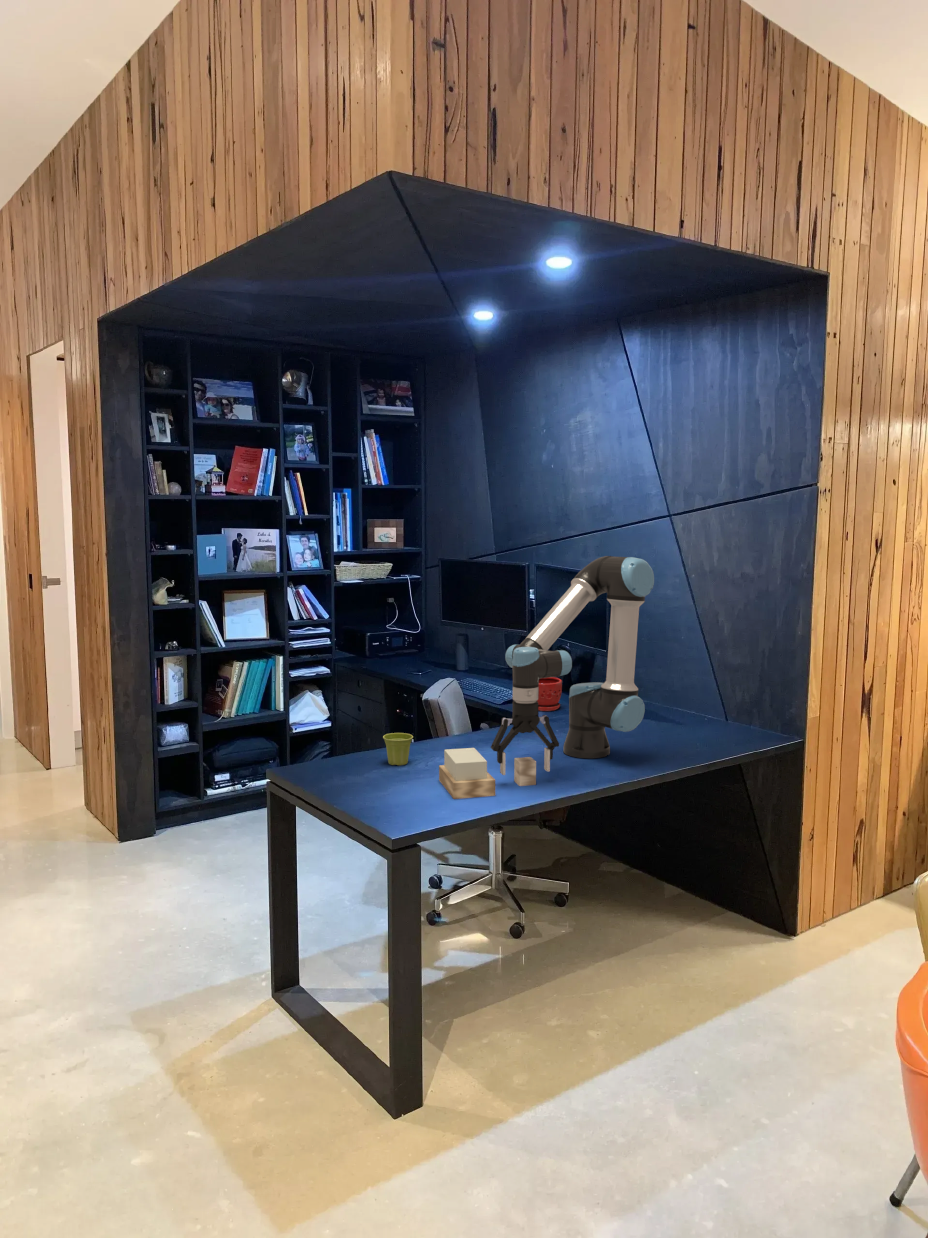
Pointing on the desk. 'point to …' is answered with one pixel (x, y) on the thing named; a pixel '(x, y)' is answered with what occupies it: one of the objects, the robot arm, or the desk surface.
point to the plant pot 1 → (398, 747)
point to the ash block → (525, 771)
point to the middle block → (465, 764)
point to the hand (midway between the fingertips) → (525, 772)
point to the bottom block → (466, 785)
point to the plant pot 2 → (549, 693)
